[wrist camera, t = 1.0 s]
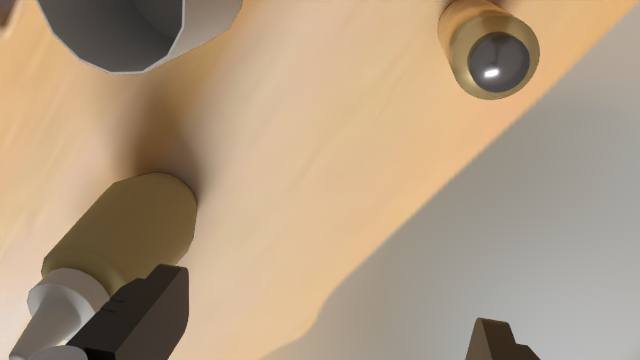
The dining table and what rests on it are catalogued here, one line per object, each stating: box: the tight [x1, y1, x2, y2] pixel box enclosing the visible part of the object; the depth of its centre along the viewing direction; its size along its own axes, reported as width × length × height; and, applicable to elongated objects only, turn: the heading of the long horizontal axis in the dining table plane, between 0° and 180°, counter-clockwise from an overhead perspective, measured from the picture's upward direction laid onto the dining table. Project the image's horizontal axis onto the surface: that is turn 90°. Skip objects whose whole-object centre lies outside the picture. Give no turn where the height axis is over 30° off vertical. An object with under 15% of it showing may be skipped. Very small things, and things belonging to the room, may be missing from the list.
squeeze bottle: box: [9, 172, 197, 360], centre depth 33 cm, size 8×8×18 cm
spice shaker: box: [438, 0, 540, 100], centre depth 27 cm, size 4×4×11 cm
